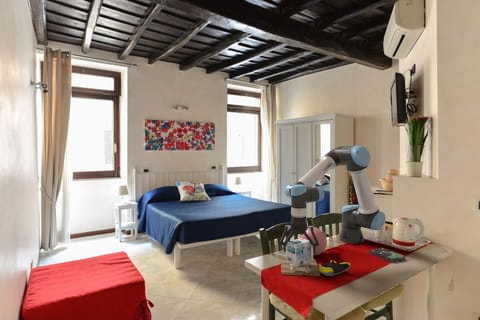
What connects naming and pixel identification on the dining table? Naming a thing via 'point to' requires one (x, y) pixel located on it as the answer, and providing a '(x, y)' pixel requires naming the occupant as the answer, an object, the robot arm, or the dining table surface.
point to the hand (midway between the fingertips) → (299, 258)
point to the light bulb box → (299, 252)
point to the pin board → (299, 268)
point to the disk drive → (387, 255)
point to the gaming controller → (333, 268)
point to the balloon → (320, 238)
